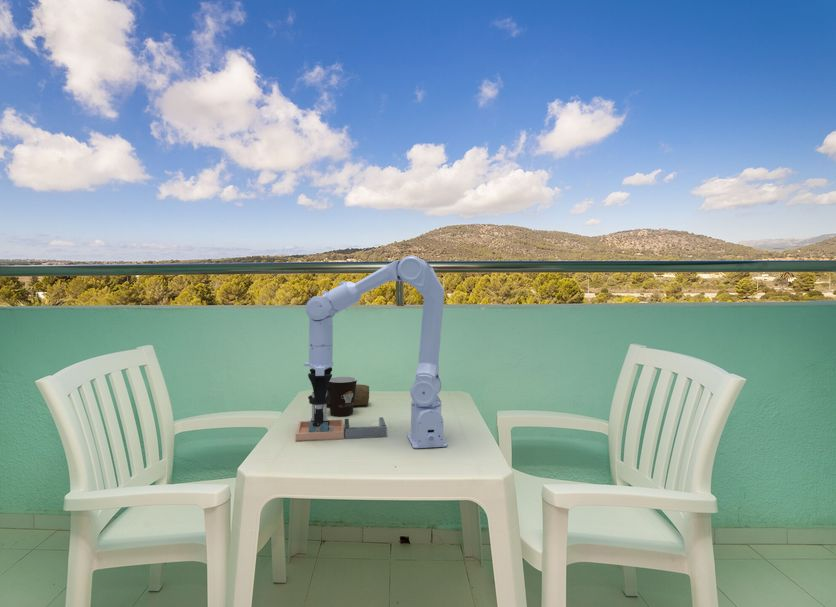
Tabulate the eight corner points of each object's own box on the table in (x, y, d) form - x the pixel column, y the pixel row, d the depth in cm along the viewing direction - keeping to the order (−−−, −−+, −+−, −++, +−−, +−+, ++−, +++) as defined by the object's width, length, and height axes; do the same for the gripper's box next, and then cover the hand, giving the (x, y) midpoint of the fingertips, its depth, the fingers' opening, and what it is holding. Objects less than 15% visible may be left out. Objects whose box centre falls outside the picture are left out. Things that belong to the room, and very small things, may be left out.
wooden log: (368, 402, 143) (369, 381, 143) (370, 408, 136) (370, 386, 136) (321, 403, 141) (321, 382, 141) (319, 409, 134) (320, 387, 134)
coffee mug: (354, 409, 135) (354, 376, 134) (358, 416, 126) (358, 381, 126) (315, 411, 132) (315, 377, 131) (316, 419, 123) (316, 383, 123)
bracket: (386, 436, 110) (386, 427, 109) (345, 438, 108) (345, 428, 108) (382, 426, 118) (382, 417, 118) (344, 428, 116) (344, 418, 116)
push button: (337, 429, 114) (337, 390, 114) (332, 436, 109) (333, 395, 108) (311, 428, 114) (311, 389, 114) (305, 435, 109) (305, 394, 108)
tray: (343, 439, 107) (343, 431, 107) (295, 441, 105) (295, 433, 105) (342, 426, 117) (342, 419, 117) (298, 428, 115) (298, 421, 115)
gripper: (306, 341, 117) (305, 393, 118) (302, 348, 103) (301, 407, 103) (333, 341, 118) (333, 392, 119) (333, 348, 104) (332, 406, 105)
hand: (320, 399), depth 111 cm, fingers closed on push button, 5 cm apart
